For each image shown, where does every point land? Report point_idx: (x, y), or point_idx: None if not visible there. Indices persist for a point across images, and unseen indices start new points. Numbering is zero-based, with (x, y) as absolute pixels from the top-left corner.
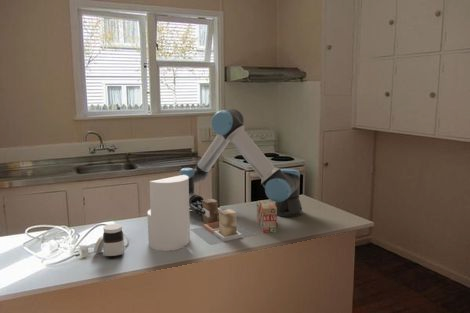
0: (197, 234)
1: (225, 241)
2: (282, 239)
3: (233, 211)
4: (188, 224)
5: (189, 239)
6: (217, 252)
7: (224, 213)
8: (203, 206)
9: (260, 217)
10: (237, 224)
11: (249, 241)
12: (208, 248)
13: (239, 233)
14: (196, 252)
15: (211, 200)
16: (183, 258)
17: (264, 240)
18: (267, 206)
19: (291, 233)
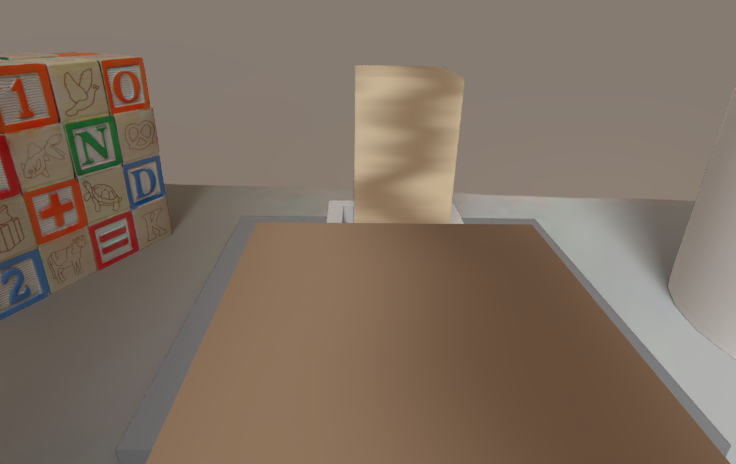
0: (620, 324)
1: None
2: (168, 186)
3: (363, 68)
4: (716, 141)
5: (676, 258)
6: (507, 197)
7: (443, 69)
8: None
9: (34, 213)
10: (166, 356)
11: (313, 210)
12: (544, 222)
13: (337, 206)
14: (610, 216)
15: (356, 297)
16: (669, 205)
17: (243, 199)
18: (82, 56)
19: None
